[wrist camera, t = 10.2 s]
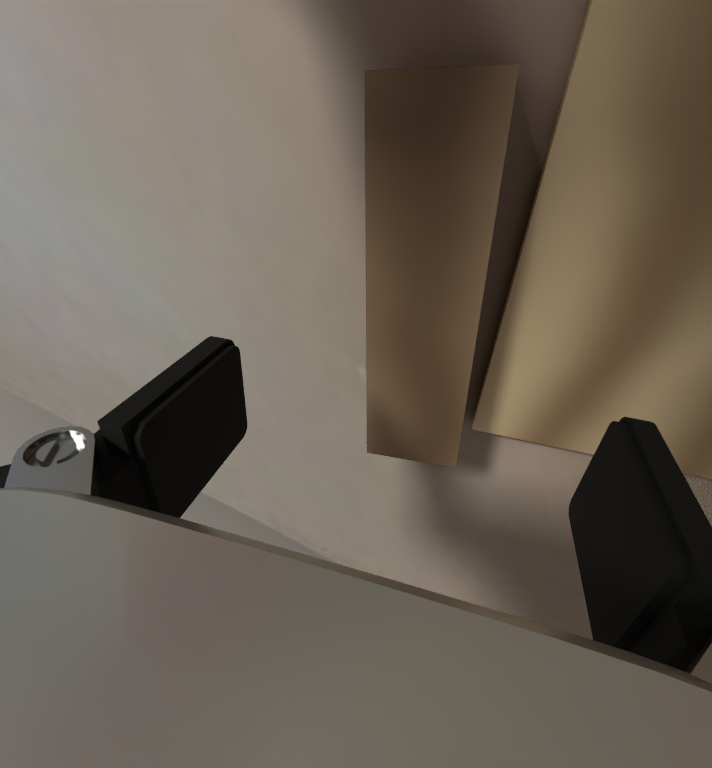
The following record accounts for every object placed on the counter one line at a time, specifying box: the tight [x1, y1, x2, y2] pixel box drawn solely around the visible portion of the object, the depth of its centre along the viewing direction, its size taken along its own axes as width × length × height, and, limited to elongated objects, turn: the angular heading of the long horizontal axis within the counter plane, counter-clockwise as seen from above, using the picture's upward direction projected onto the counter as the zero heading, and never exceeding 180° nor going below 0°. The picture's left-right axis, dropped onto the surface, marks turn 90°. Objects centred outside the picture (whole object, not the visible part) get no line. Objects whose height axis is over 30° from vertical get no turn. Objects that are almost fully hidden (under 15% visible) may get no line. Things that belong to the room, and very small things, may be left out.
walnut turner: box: [365, 64, 520, 468], centre depth 16 cm, size 4×14×4 cm, turn 1°
